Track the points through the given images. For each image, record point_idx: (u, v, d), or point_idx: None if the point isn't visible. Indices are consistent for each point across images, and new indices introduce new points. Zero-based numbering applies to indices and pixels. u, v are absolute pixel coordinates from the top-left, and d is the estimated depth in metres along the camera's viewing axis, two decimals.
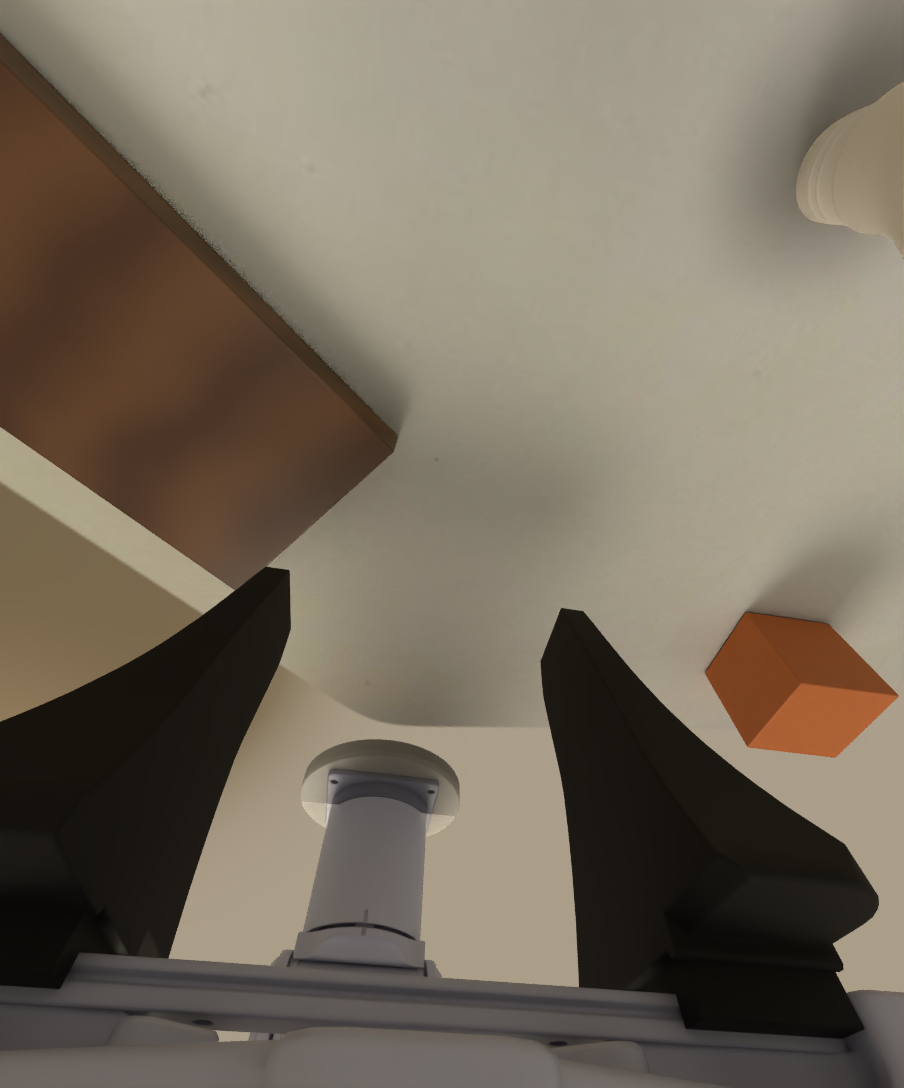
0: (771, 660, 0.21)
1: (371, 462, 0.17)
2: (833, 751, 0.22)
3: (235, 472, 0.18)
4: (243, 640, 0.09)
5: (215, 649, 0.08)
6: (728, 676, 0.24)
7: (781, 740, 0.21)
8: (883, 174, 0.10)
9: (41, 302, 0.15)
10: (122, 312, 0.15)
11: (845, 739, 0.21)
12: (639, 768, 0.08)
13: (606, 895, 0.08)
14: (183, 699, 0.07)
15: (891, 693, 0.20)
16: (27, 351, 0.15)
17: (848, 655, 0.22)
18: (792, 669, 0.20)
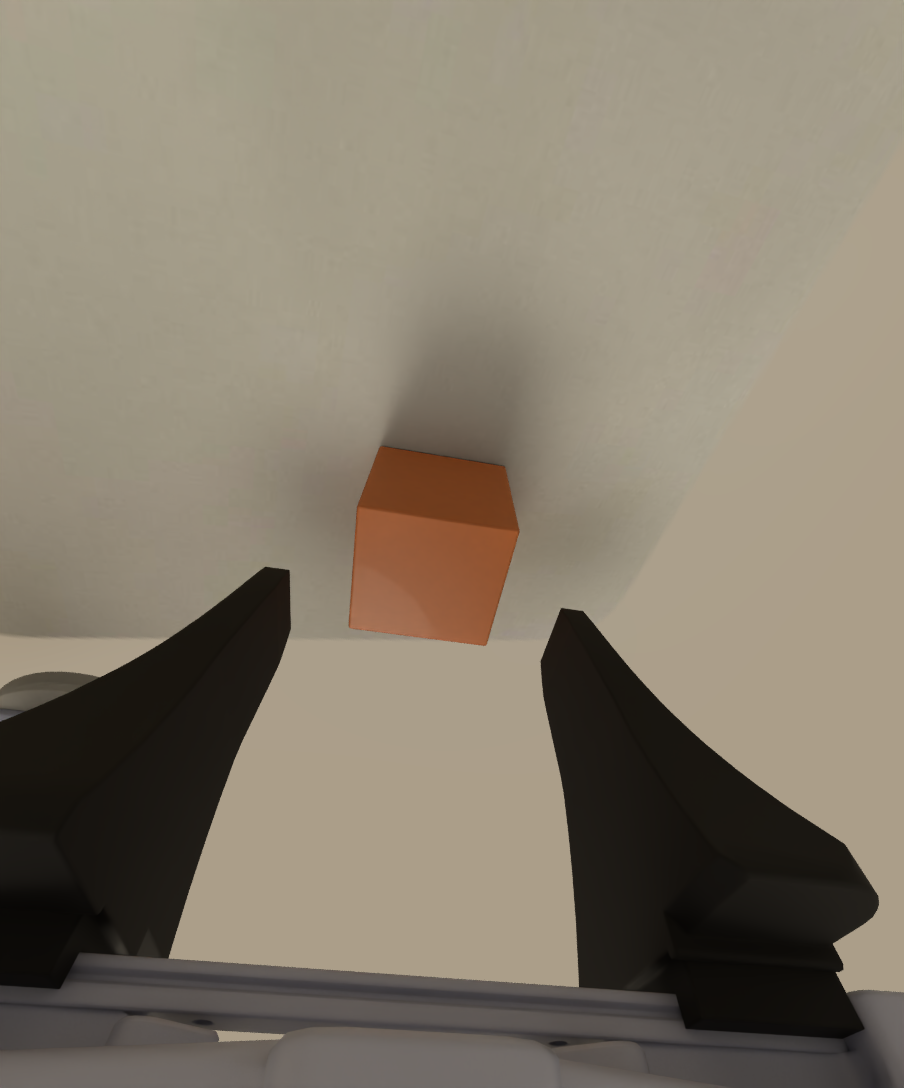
0: None
1: None
2: (476, 634, 0.15)
3: None
4: (243, 640, 0.09)
5: (215, 649, 0.08)
6: None
7: (389, 615, 0.15)
8: None
9: None
10: None
11: (482, 613, 0.14)
12: (639, 768, 0.08)
13: (607, 895, 0.08)
14: (183, 699, 0.07)
15: (507, 526, 0.13)
16: None
17: (490, 490, 0.15)
18: (363, 493, 0.13)
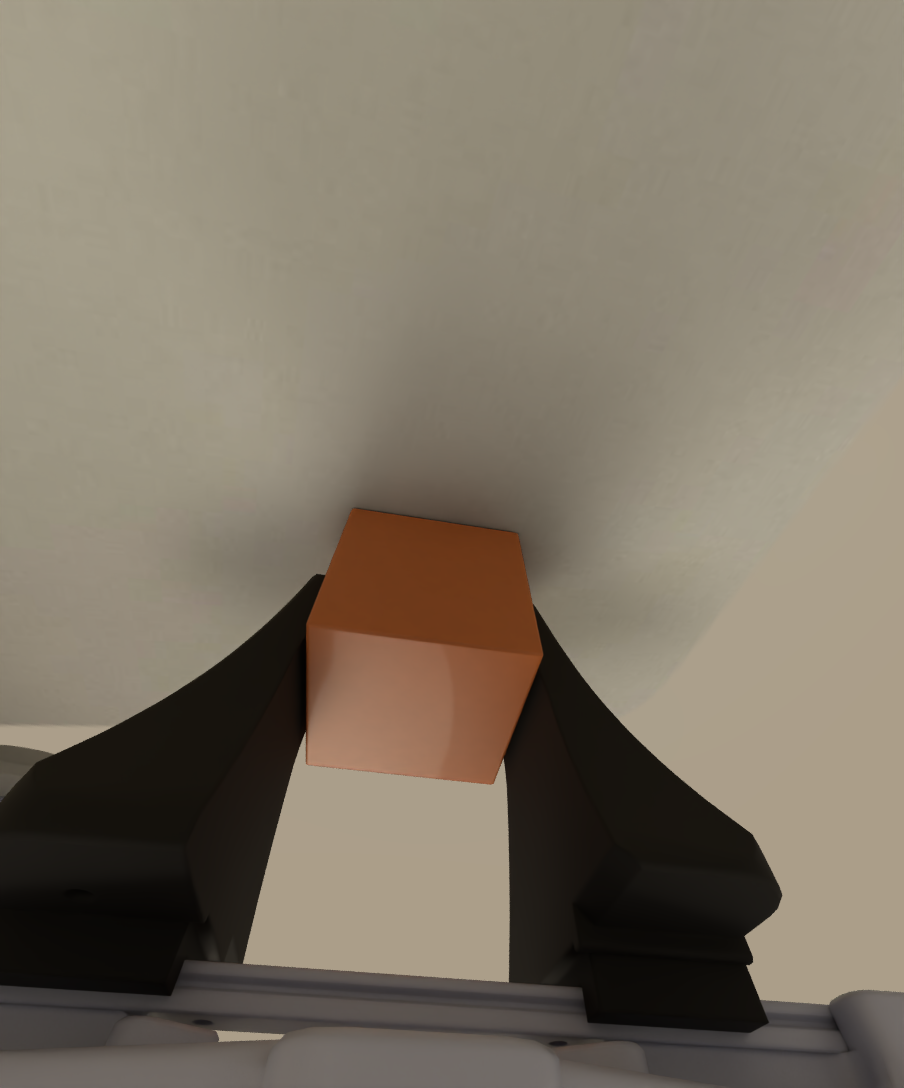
0: None
1: None
2: (480, 772, 0.11)
3: None
4: None
5: (286, 658, 0.09)
6: None
7: (360, 751, 0.11)
8: None
9: None
10: None
11: (488, 750, 0.10)
12: (562, 759, 0.08)
13: (532, 888, 0.08)
14: (267, 709, 0.07)
15: (526, 648, 0.09)
16: None
17: (500, 579, 0.11)
18: (318, 598, 0.09)
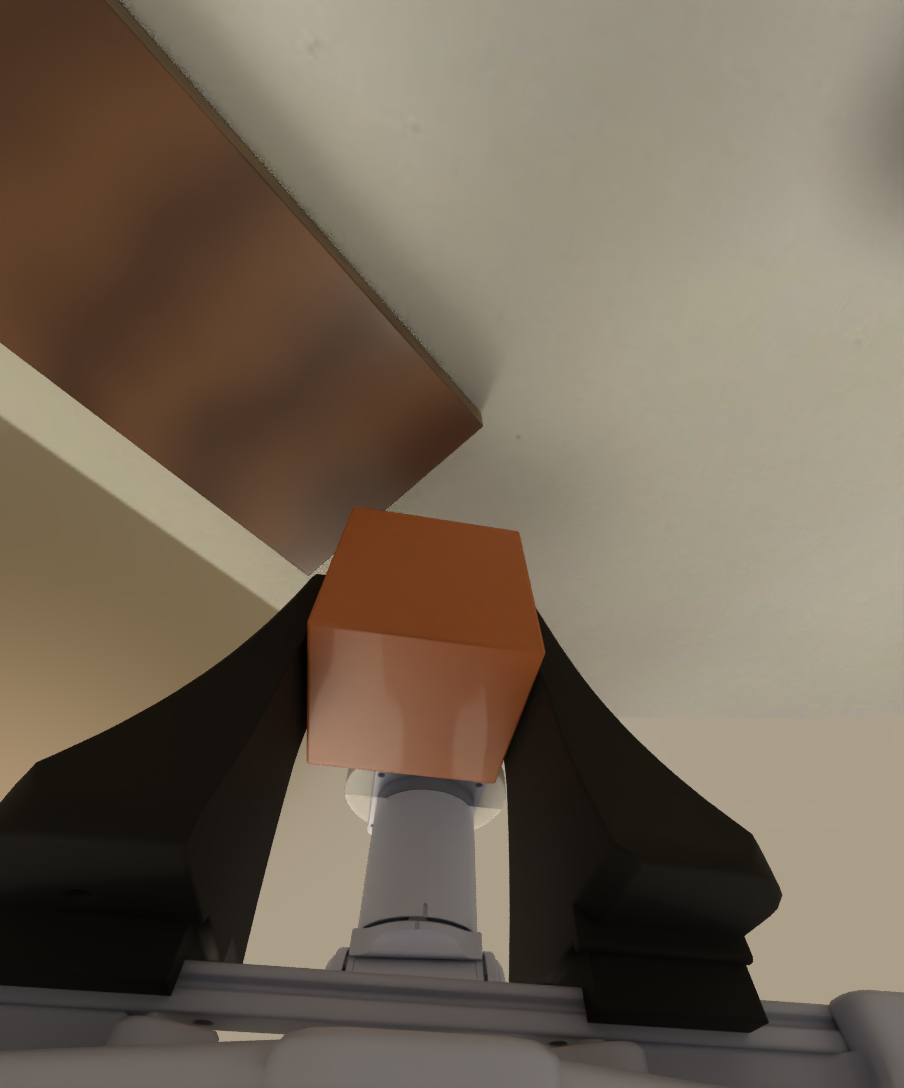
0: None
1: (458, 438, 0.17)
2: (481, 771, 0.11)
3: (317, 450, 0.17)
4: None
5: (286, 658, 0.09)
6: None
7: (362, 750, 0.11)
8: None
9: (134, 271, 0.14)
10: (217, 280, 0.14)
11: (489, 748, 0.10)
12: (561, 760, 0.08)
13: (532, 889, 0.08)
14: (266, 708, 0.07)
15: (528, 646, 0.09)
16: (115, 322, 0.15)
17: (501, 577, 0.11)
18: (319, 596, 0.09)
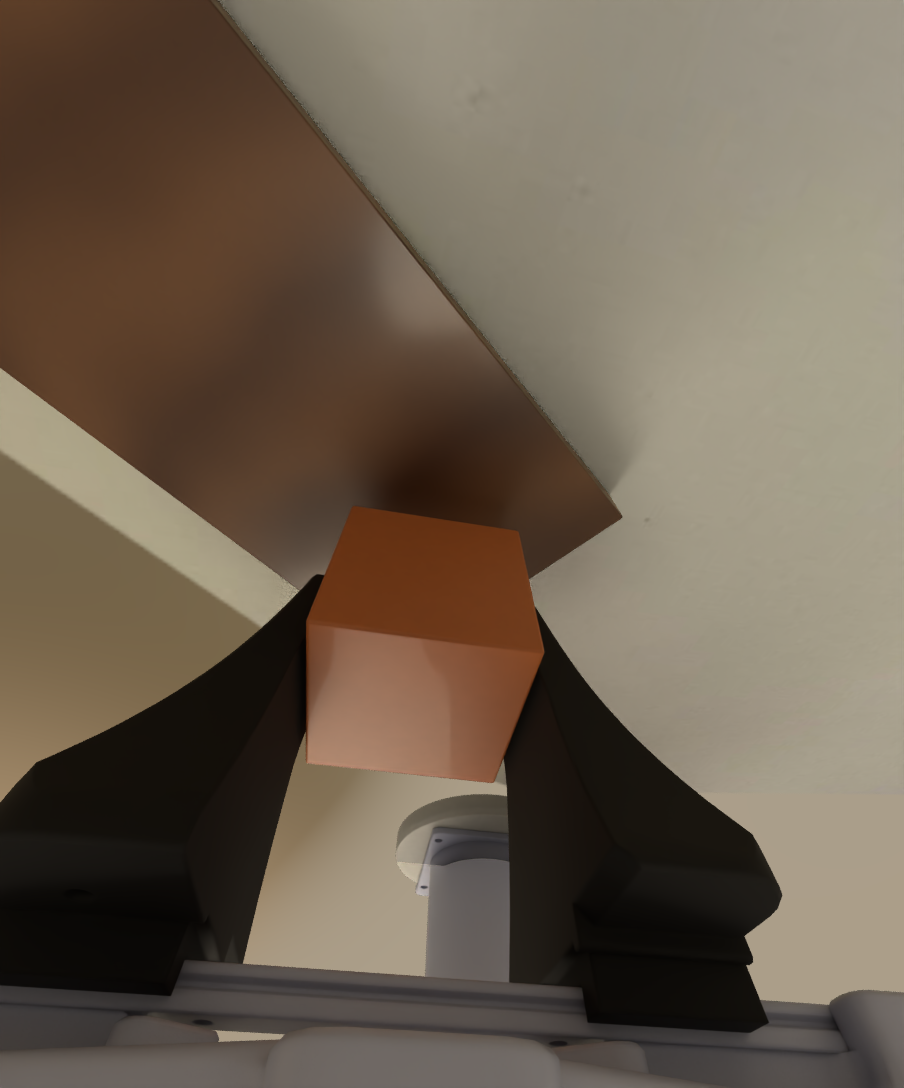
0: None
1: (593, 529, 0.15)
2: (481, 771, 0.11)
3: None
4: None
5: (286, 658, 0.09)
6: None
7: (361, 749, 0.11)
8: None
9: (245, 352, 0.12)
10: (341, 363, 0.12)
11: (489, 748, 0.10)
12: (562, 760, 0.08)
13: (532, 888, 0.08)
14: (266, 709, 0.07)
15: (527, 646, 0.09)
16: (216, 407, 0.13)
17: (500, 576, 0.11)
18: (317, 595, 0.09)
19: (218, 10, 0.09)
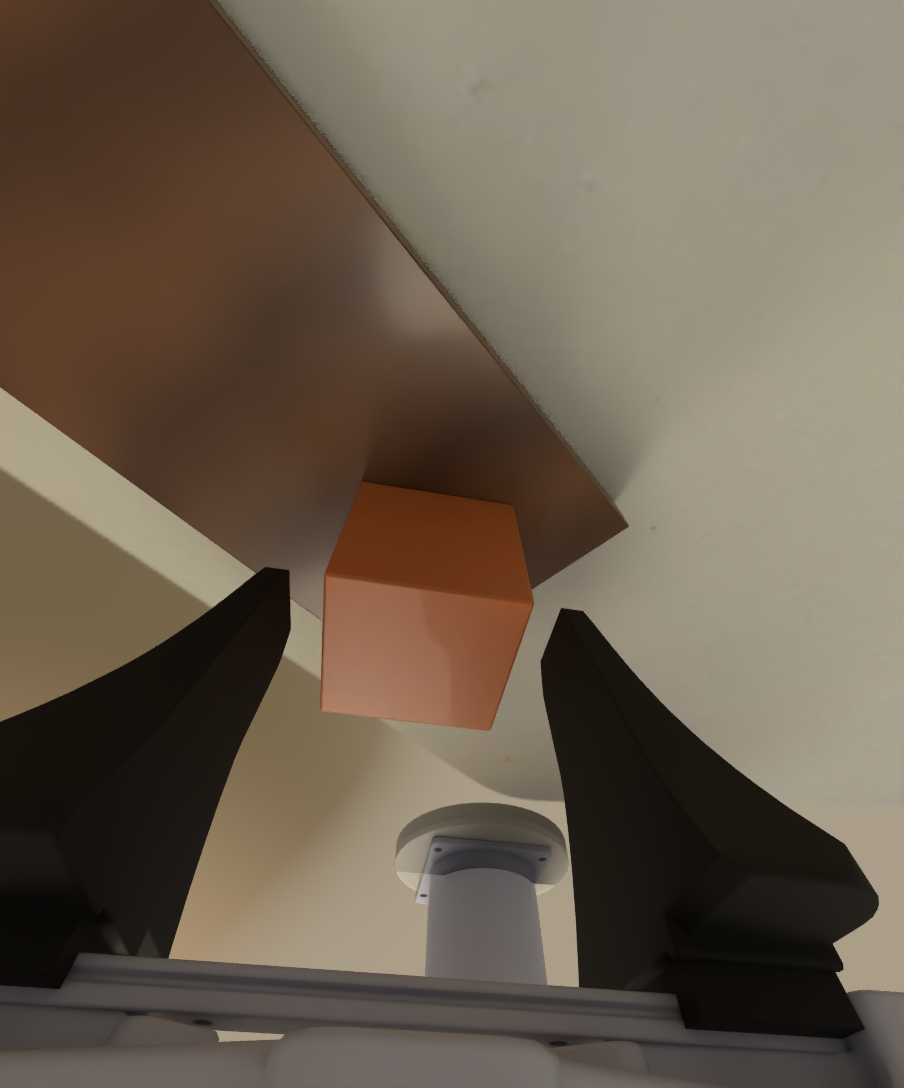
0: None
1: (598, 539, 0.14)
2: (478, 719, 0.12)
3: None
4: (243, 640, 0.09)
5: (215, 649, 0.08)
6: None
7: (370, 697, 0.12)
8: None
9: (235, 355, 0.12)
10: (335, 367, 0.12)
11: (485, 695, 0.12)
12: (639, 768, 0.08)
13: (607, 895, 0.08)
14: (183, 699, 0.07)
15: (519, 598, 0.10)
16: (205, 413, 0.12)
17: (496, 542, 0.12)
18: (333, 554, 0.10)
19: None
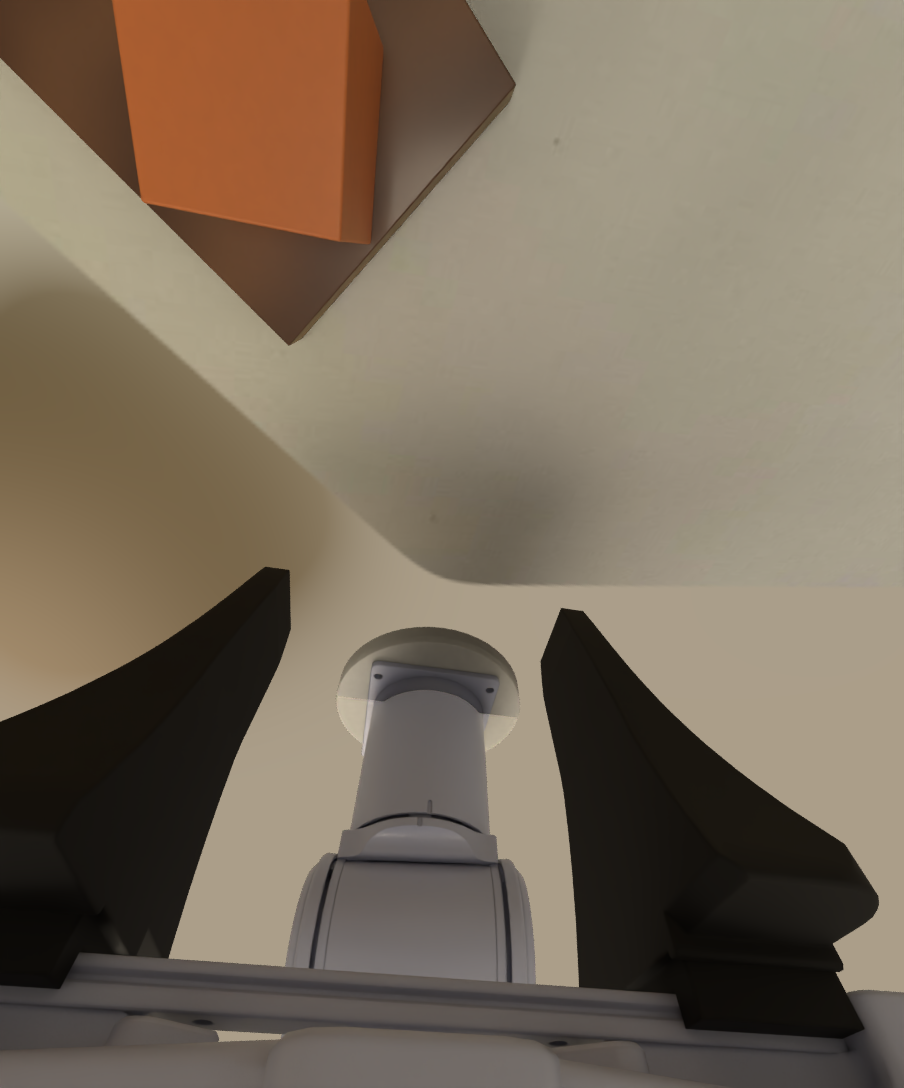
0: None
1: (483, 106, 0.13)
2: (322, 213, 0.11)
3: None
4: (243, 640, 0.09)
5: (215, 649, 0.08)
6: None
7: (192, 169, 0.10)
8: None
9: None
10: None
11: (323, 163, 0.10)
12: (640, 768, 0.08)
13: (606, 895, 0.08)
14: (183, 699, 0.07)
15: None
16: None
17: None
18: None
19: None
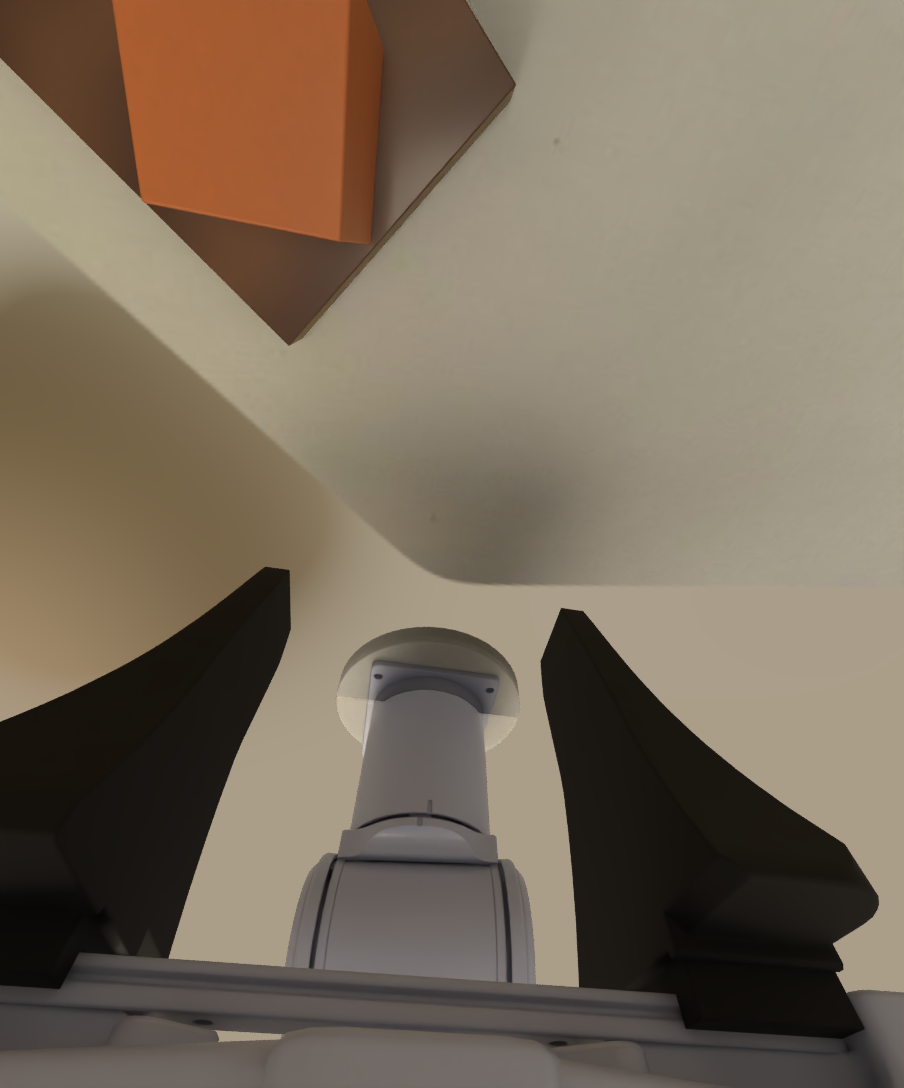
0: None
1: (483, 106, 0.13)
2: (322, 213, 0.11)
3: None
4: (243, 640, 0.09)
5: (215, 649, 0.08)
6: None
7: (192, 169, 0.10)
8: None
9: None
10: None
11: (323, 163, 0.10)
12: (640, 768, 0.08)
13: (606, 895, 0.08)
14: (183, 699, 0.07)
15: None
16: None
17: None
18: None
19: None
